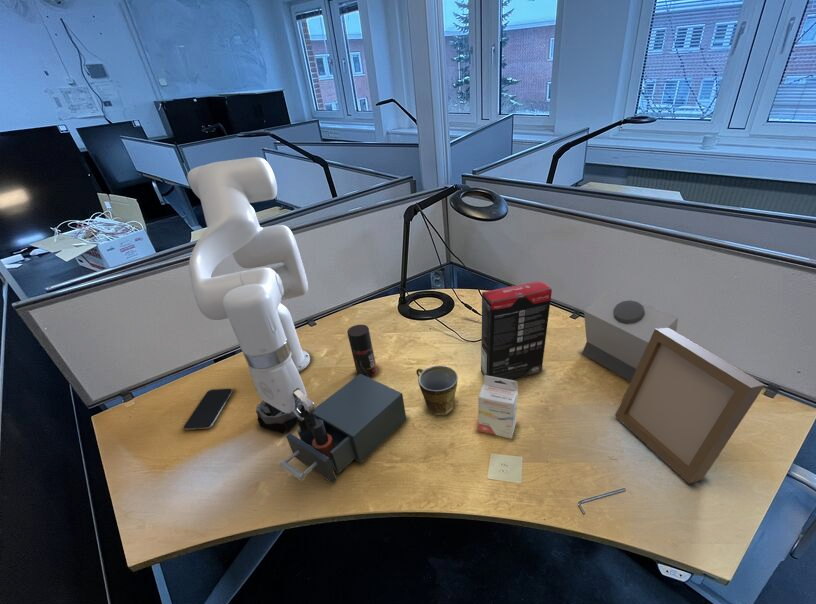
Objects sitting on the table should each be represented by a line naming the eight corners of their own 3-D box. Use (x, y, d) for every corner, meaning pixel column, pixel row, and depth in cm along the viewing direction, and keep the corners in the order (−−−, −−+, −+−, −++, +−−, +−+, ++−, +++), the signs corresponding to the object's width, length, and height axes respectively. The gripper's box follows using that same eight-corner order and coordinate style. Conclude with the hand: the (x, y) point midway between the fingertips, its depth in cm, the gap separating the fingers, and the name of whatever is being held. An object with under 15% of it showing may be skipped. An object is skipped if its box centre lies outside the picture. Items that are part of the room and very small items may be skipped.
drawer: (315, 500, 87) (306, 478, 82) (276, 471, 93) (266, 450, 89) (381, 438, 100) (376, 416, 96) (343, 417, 107) (337, 396, 102)
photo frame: (687, 486, 85) (728, 397, 71) (614, 418, 102) (634, 335, 88) (738, 461, 90) (785, 372, 75) (659, 400, 106) (686, 318, 92)
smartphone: (182, 428, 107) (208, 389, 119) (183, 430, 107) (209, 391, 119) (209, 427, 107) (233, 388, 119) (211, 428, 107) (234, 390, 119)
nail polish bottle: (313, 456, 95) (301, 425, 89) (327, 443, 98) (317, 413, 92) (325, 464, 93) (314, 434, 87) (340, 451, 96) (330, 421, 90)
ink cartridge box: (477, 432, 101) (476, 387, 92) (482, 418, 105) (482, 373, 96) (512, 439, 98) (514, 393, 90) (516, 425, 102) (518, 379, 94)
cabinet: (360, 463, 95) (353, 436, 90) (319, 437, 102) (310, 411, 97) (406, 419, 106) (402, 393, 101) (366, 399, 113) (360, 373, 108)
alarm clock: (671, 369, 116) (692, 307, 104) (636, 392, 109) (654, 328, 98) (610, 337, 130) (623, 279, 119) (576, 356, 123) (586, 296, 112)
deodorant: (373, 379, 120) (364, 337, 111) (354, 377, 121) (343, 335, 112) (379, 366, 125) (371, 325, 116) (361, 365, 126) (352, 323, 117)
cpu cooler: (306, 394, 107) (280, 421, 100) (312, 410, 111) (287, 437, 103) (275, 386, 111) (248, 412, 103) (281, 402, 114) (255, 427, 106)
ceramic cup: (467, 404, 109) (465, 375, 103) (441, 426, 103) (438, 396, 97) (432, 384, 117) (429, 356, 111) (406, 403, 111) (402, 374, 105)
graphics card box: (533, 359, 123) (539, 277, 108) (544, 373, 118) (553, 288, 102) (480, 373, 119) (479, 289, 104) (489, 388, 114) (490, 302, 98)
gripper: (221, 349, 75) (252, 416, 85) (280, 379, 67) (306, 450, 77) (257, 329, 80) (282, 395, 90) (315, 355, 72) (336, 425, 81)
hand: (293, 420), depth 83 cm, fingers open, 9 cm apart
